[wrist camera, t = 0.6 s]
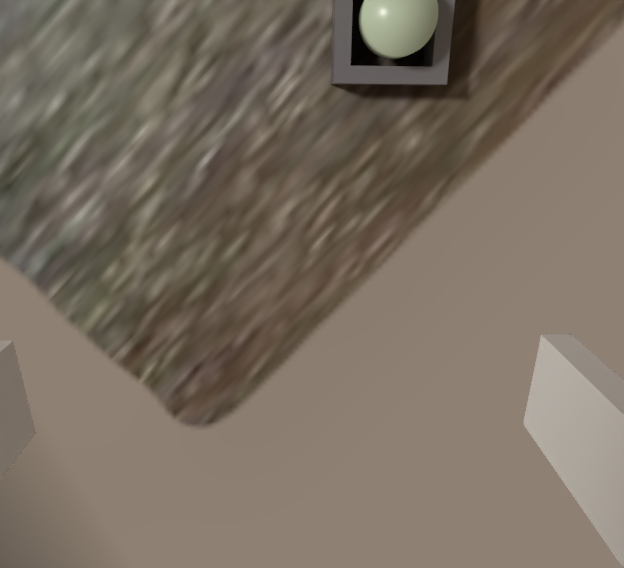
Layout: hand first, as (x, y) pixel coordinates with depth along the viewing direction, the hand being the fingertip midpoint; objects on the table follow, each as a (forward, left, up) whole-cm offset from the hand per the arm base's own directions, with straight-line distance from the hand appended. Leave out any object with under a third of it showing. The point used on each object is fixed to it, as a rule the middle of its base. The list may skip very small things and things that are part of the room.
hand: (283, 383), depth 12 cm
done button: (-11, +6, -22) cm, 25 cm away
